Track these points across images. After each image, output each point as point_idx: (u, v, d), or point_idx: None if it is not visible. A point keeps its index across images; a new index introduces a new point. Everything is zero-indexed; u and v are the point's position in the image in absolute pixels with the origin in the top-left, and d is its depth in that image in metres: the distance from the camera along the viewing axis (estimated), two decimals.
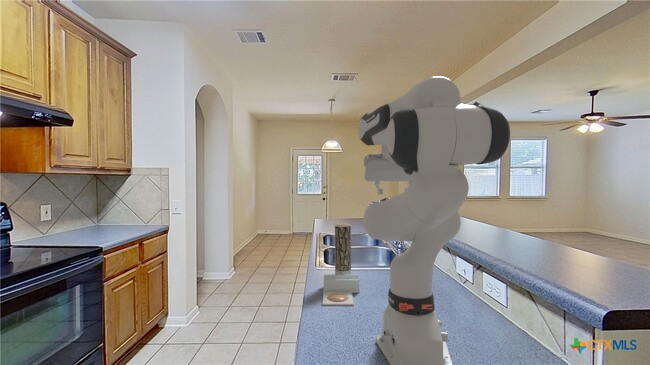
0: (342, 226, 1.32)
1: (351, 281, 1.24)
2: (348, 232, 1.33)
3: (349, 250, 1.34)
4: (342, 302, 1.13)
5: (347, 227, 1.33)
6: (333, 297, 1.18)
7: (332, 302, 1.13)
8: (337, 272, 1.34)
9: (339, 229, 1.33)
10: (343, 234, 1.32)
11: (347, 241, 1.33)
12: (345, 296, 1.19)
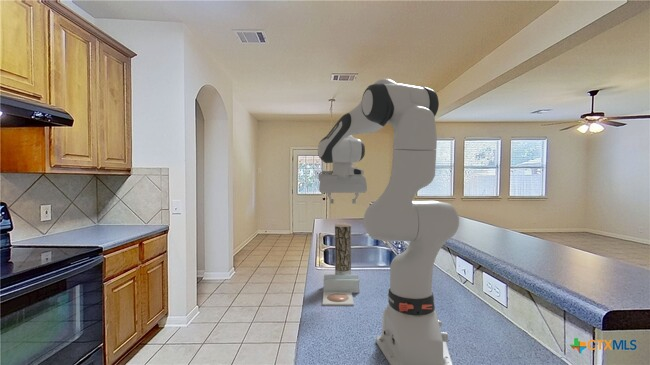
0: (342, 226, 1.32)
1: (351, 281, 1.24)
2: (348, 232, 1.33)
3: (349, 250, 1.34)
4: (342, 302, 1.13)
5: (347, 227, 1.33)
6: (333, 297, 1.18)
7: (332, 302, 1.13)
8: (337, 272, 1.34)
9: (339, 229, 1.33)
10: (343, 234, 1.32)
11: (347, 241, 1.33)
12: (345, 296, 1.19)
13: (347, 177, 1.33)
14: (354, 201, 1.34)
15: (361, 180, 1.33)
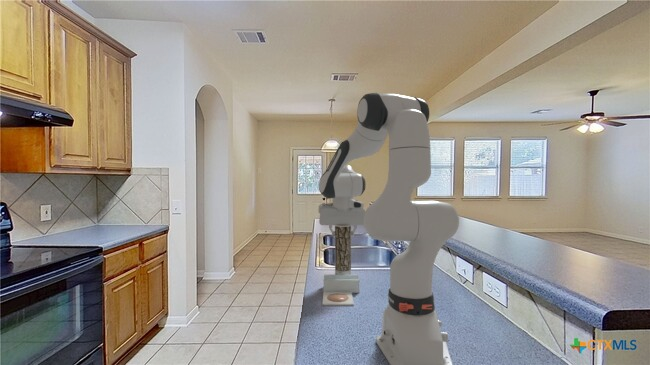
0: (342, 226, 1.32)
1: (351, 281, 1.24)
2: (348, 232, 1.33)
3: (349, 250, 1.34)
4: (342, 302, 1.13)
5: (347, 227, 1.33)
6: (333, 297, 1.18)
7: (332, 302, 1.13)
8: (337, 272, 1.34)
9: (339, 229, 1.33)
10: (343, 234, 1.32)
11: (347, 241, 1.33)
12: (345, 296, 1.19)
13: (347, 210, 1.33)
14: (352, 233, 1.35)
15: (361, 212, 1.33)
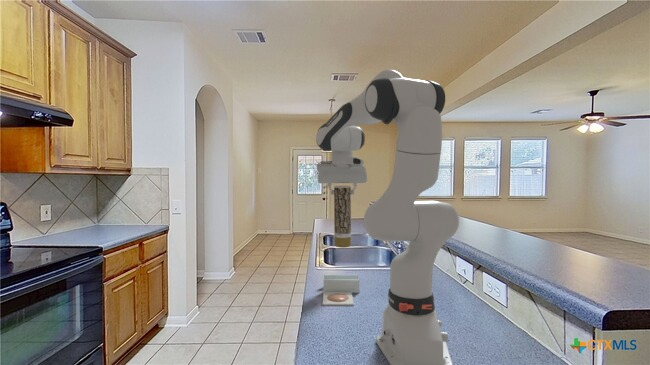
0: (342, 187, 1.28)
1: (351, 281, 1.24)
2: (348, 193, 1.29)
3: (349, 212, 1.30)
4: (342, 302, 1.13)
5: (347, 188, 1.28)
6: (333, 297, 1.18)
7: (332, 302, 1.13)
8: (337, 235, 1.30)
9: (338, 191, 1.28)
10: (342, 195, 1.28)
11: (347, 203, 1.29)
12: (345, 296, 1.19)
13: (346, 167, 1.29)
14: (352, 192, 1.30)
15: (361, 169, 1.29)
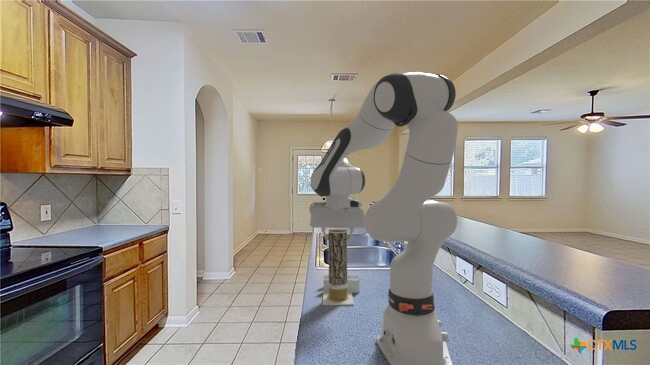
0: (337, 232, 1.14)
1: (351, 281, 1.24)
2: (344, 239, 1.15)
3: (345, 260, 1.15)
4: (342, 302, 1.13)
5: (343, 234, 1.14)
6: None
7: (332, 302, 1.13)
8: (331, 286, 1.15)
9: (333, 236, 1.14)
10: (338, 242, 1.14)
11: (343, 250, 1.15)
12: None
13: (342, 210, 1.15)
14: (349, 237, 1.16)
15: (358, 213, 1.15)
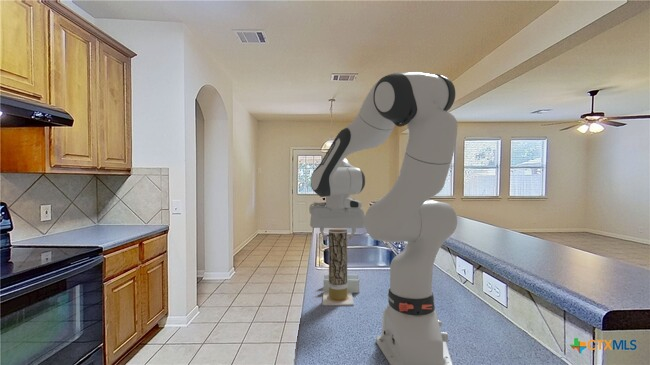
0: (337, 232, 1.14)
1: (351, 281, 1.24)
2: (344, 239, 1.15)
3: (345, 260, 1.15)
4: (342, 302, 1.13)
5: (343, 234, 1.14)
6: None
7: (332, 302, 1.13)
8: (331, 286, 1.15)
9: (333, 236, 1.14)
10: (338, 242, 1.14)
11: (343, 250, 1.15)
12: None
13: (342, 210, 1.15)
14: (351, 237, 1.16)
15: (358, 213, 1.15)
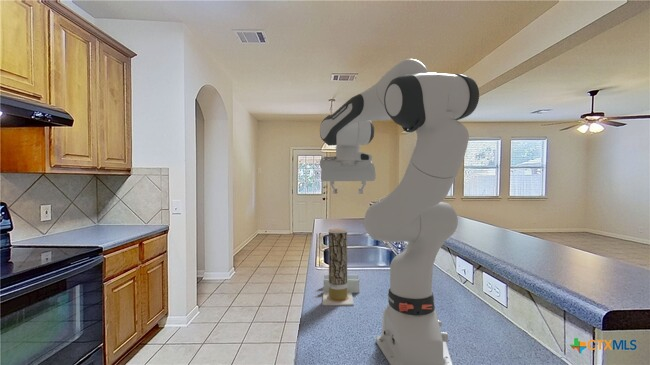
0: (337, 232, 1.14)
1: (351, 281, 1.24)
2: (344, 239, 1.15)
3: (345, 260, 1.15)
4: (342, 302, 1.13)
5: (343, 234, 1.14)
6: None
7: (332, 302, 1.13)
8: (331, 286, 1.15)
9: (333, 236, 1.14)
10: (338, 242, 1.14)
11: (343, 250, 1.15)
12: None
13: (353, 163, 1.16)
14: (361, 191, 1.17)
15: (369, 166, 1.16)
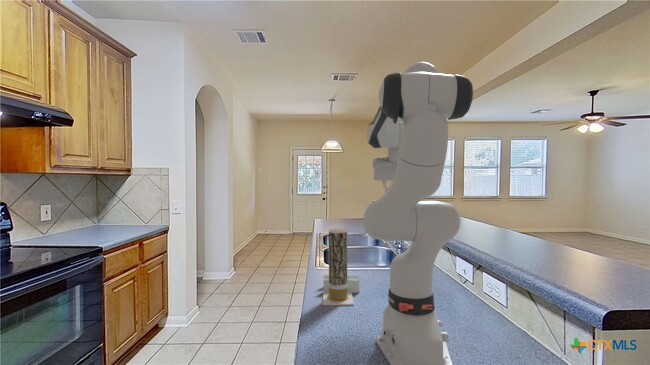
0: (337, 232, 1.14)
1: (351, 281, 1.24)
2: (344, 239, 1.15)
3: (345, 260, 1.15)
4: (342, 302, 1.13)
5: (343, 234, 1.14)
6: None
7: (332, 302, 1.13)
8: (331, 286, 1.15)
9: (333, 236, 1.14)
10: (338, 242, 1.14)
11: (343, 250, 1.15)
12: None
13: None
14: None
15: None
